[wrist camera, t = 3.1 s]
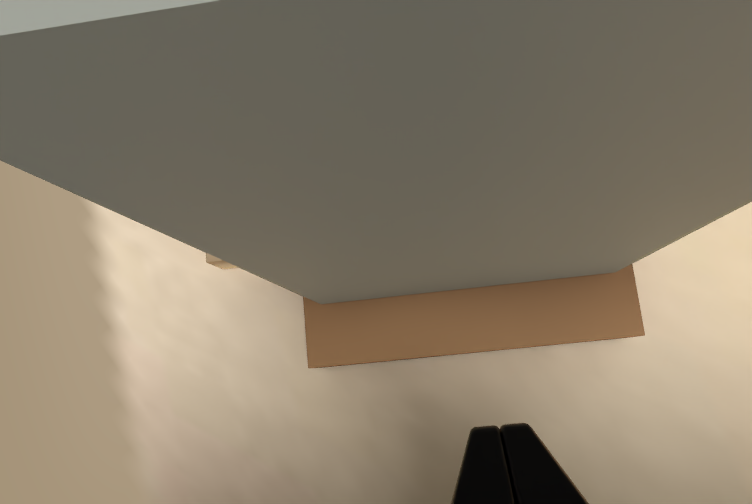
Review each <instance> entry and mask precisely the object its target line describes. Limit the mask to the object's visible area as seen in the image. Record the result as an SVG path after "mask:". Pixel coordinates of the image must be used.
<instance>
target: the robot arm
mask: <svg viewBox="0 0 752 504" xmlns="http://www.w3.org/2000/svg"><path fill="white" fill-rule="evenodd" d="M451 504H589V503H588V502H587V501H586V499H585V498H584V497H583V495H582V494H581V493H580V491H579V490H578V489H577V487H576V486H575V485H574V483H573V482H572V481H571V479H570V478H569V477H568V475H567V474H566V473H565V471H564V470H563V469H562V467H561V466H560V465H559V463H558V462H557V461H556V459H555V458H554V457H553V455H552V454H551V453H550V451H549V450H548V449H547V447H546V446H545V445H544V443H543V442H542V441H541V439H540V438H539V437H538V435H537V434H536V433H535V431H534V430H533V429H532V428H531V427H530V426H529V425H528V424H526V423H518V424H506V425H502V426H501V428H500V429H499V428H498V427H497V426H483V427H474V428H473V429H472V430H471V431H470V434H469V438H468V442H467V445H466V449H465V453H464V457H463V461H462V464H461V468H460V472H459V476H458V480H457V483H456V487H455V491H454V495H453V498H452V502H451Z"/></svg>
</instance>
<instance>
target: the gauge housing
mask: <svg viewBox="0 0 752 504" xmlns="http://www.w3.org/2000/svg"><path fill="white" fill-rule="evenodd" d="M206 262H207V263H209V264H212V265H214V266H216V267H219V268H221V269H228V268H237V266H235V265H232V264H230V263H228V262H226V261H223V260H221V259H219V258H217V257H214V256H212V255H210V254H208V253H206ZM303 301H304V315H305V329H306V343H307V357H308V368H322V367H332V366H342V365H352V364H363V363H373V362H383V361H393V360H403V359H414V358H424V357H434V356H444V355H454V354H465V353H475V352H485V351H495V350H505V349H516V348H526V347H536V346H546V345H556V344H567V343H577V342H587V341H597V340H608V339H618V338H627V337H635V336H643V335H645V333H644V327H643V322H642V316H641V311H640V305H639V299H638V294H637V288H636V283H635V277H634V272H633V266H632V264H630V265H628V266H627V267H625V268H623V269H621V270H619V271H617V272H614V273H605V274H596V275H586V276H577V277H568V278H559V279H550V280H540V281H531V282H522V283H513V284H503V285H494V286H485V287H476V288H466V289H457V290H448V291H439V292H430V293H420V294H411V295H402V296H393V297H383V298H374V299H365V300H356V301H346V302H337V303H328V304H319V303H317V302H315V301H312V300H310V299H308V298H306V297H304V296H303Z"/></svg>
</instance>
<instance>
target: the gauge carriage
mask: <svg viewBox="0 0 752 504" xmlns="http://www.w3.org/2000/svg"><path fill="white" fill-rule="evenodd" d="M0 160H1V161H3V162H5V163H7V164H10V165H12V166H14V167H16V168H19V169H21V170H23V171H25V172H28V173H30V174H32V175H34V176H36V177H39V178H41V179H43V180H45V181H48V182H50V183H52V184H54V185H56V186H59V187H61V188H63V189H65V190H68V191H70V192H72V193H74V194H76V195H79V196H81V197H83V198H85V199H88V200H90V201H92V202H94V203H96V204H99V205H101V206H103V207H105V208H108V209H110V210H112V211H114V212H117V213H119V214H121V215H123V216H125V217H128V218H130V219H132V220H134V221H137V222H139V223H141V224H143V225H145V226H148V227H150V228H152V229H154V230H157V231H159V232H161V233H163V234H165V235H168V236H170V237H172V238H174V239H177V240H179V241H181V242H183V243H186V244H188V245H190V246H192V247H194V248H197V249H199V250H201V251H203V252H206V253H208V254H210V255H212V256H214V257H217V258H219V259H221V260H223V261H226V262H228V263H230V264H232V265H235V266H237V267H239V268H241V269H243V270H246V271H248V272H250V273H252V274H255V275H257V276H259V277H261V278H263V279H266V280H268V281H270V282H272V283H275V284H277V285H279V286H281V287H284V288H286V289H288V290H290V291H292V292H295V293H297V294H299V295H301V296H304V297H306V298H308V299H310V300H312V301H315V302H317V303H319V304H328V303H337V302H346V301H356V300H365V299H374V298H383V297H393V296H402V295H411V294H420V293H430V292H439V291H448V290H457V289H466V288H476V287H485V286H494V285H503V284H513V283H522V282H531V281H540V280H550V279H559V278H568V277H577V276H586V275H596V274H605V273H614V272H617V271H619V270H621V269H623V268H625V267H627V266H628V265H630V264H632V263H634V262H636V261H638V260H640V259H642V258H644V257H646V256H648V255H650V254H652V253H653V252H655V251H657V250H659V249H661V248H663V247H665V246H667V245H669V244H671V243H673V242H675V241H677V240H678V239H680V238H682V237H684V236H686V235H688V234H690V233H692V232H694V231H696V230H698V229H700V228H702V227H704V226H705V225H707V224H709V223H711V222H713V221H715V220H717V219H719V218H721V217H723V216H725V215H727V214H729V213H730V212H732V211H734V210H736V209H738V208H740V207H742V206H744V205H746V204H748V203H750V202H752V0H0Z"/></svg>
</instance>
